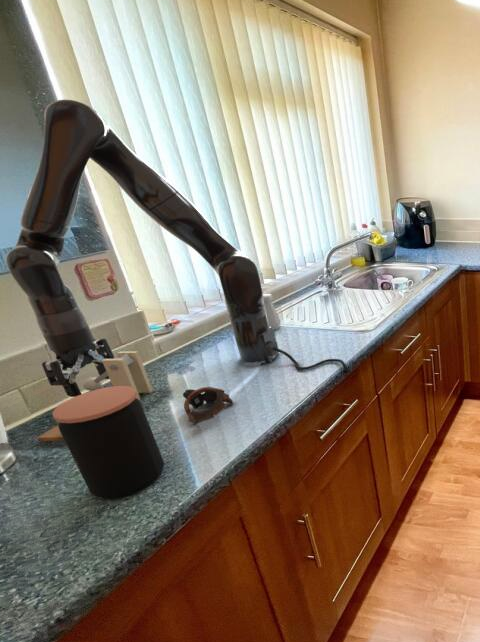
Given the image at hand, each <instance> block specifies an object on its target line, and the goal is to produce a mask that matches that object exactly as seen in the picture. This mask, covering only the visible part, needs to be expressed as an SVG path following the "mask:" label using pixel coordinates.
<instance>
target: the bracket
mask: <svg viewBox="0 0 480 642" xmlns="http://www.w3.org/2000/svg"><path fill="white" fill-rule="evenodd" d="M125 354H127V355H128V356H129V357H131V358H132V359H133V360H134V362H133V363H131V364H130V365H128V366H127V363H126V361H125V358H120V357H122V356H123V355H125ZM116 356H117V358H114V359H104V360H102V362H103V364H104V366H105V369H106V371H107V374H108V376H109V381H110V383H111V385H112V386H111V387H113V386H130V387H133V388H134V389H135V390H136V393H137V396H136V398H137V399H138V400H139V401H141V396H140V394H150V393H152V392H153V390H154V389H153V387H152V385H151V382H150V379H149V377H148V374H147V371H146V369H145V366H144V363H143V361H142V359H141V356H140V354H139V351H138V350H130V351H129V350H127V351H121V350H120V351H118V352H116ZM118 358H120V359H118Z"/></svg>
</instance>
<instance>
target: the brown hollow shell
mask: <svg viewBox="0 0 480 642" xmlns="http://www.w3.org/2000/svg"><path fill="white" fill-rule="evenodd" d="M225 392H226V391H225V390H224V389H222V388H217V387H212V386H204V387H200V388H197V389H191V388H189V389H186V390H185V391H184V392H183V394H182V397H184V399H185V400H184V403H183V409H184V410H185V414H186V415H187V420H188V422H190V423H193V426H196V425H197V424H199V423H202V422H206V421H209V420H210V419H214V418H215V416H217V415H219V413H221V412H222V411H223V410H224V409H227V408H229V407H228V405H227V404H230V405H231V406H233V405H234V402H233V399H232V398H231V397H230V395H229V394H228V393H225ZM204 403H206V404H211V403H213V404H212V405H211V406H210V407H209V408H207V409H204V410H200V411H195V410H197V409H199V408H200V407H202V406H203V405H204ZM226 403H227V404H226ZM190 405H191V406H192V408H193V409H194V410H192V411H191V408H190Z"/></svg>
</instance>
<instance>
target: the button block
mask: <svg viewBox="0 0 480 642" xmlns="http://www.w3.org/2000/svg"><path fill="white" fill-rule="evenodd" d="M58 424H59V422H57V424H56V425H55V426H54V427H52V428H50V429H49V430H47V431H45V432H44V433H41V435H39V436H37V437H36V439H37V440H38V442H61V441H62V442H63V441H64V442H65V440H64V438H63V436H62V434H61V432H60V430H59V425H58Z"/></svg>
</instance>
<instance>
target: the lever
mask: <svg viewBox="0 0 480 642" xmlns="http://www.w3.org/2000/svg"><path fill="white" fill-rule="evenodd" d="M120 358H125V361H126V363H127V366H128V365H130V364H131V363H133V362H134V360H133V359H132V358H131V357H129V356H128V355H127V354H125V355H123V356H122V357H120ZM120 358H118V357H117V359H120ZM107 376H108V374H107V371H106V372H104V373H103V374H102V375H98V376H90V377H88V378H86V379H84V380H83V382H82V388H83V389H84V390H86V391H88V392H90V391H93V390H97V389H101V388H102V386H103V380H105V379H104V378H106V377H107Z"/></svg>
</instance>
